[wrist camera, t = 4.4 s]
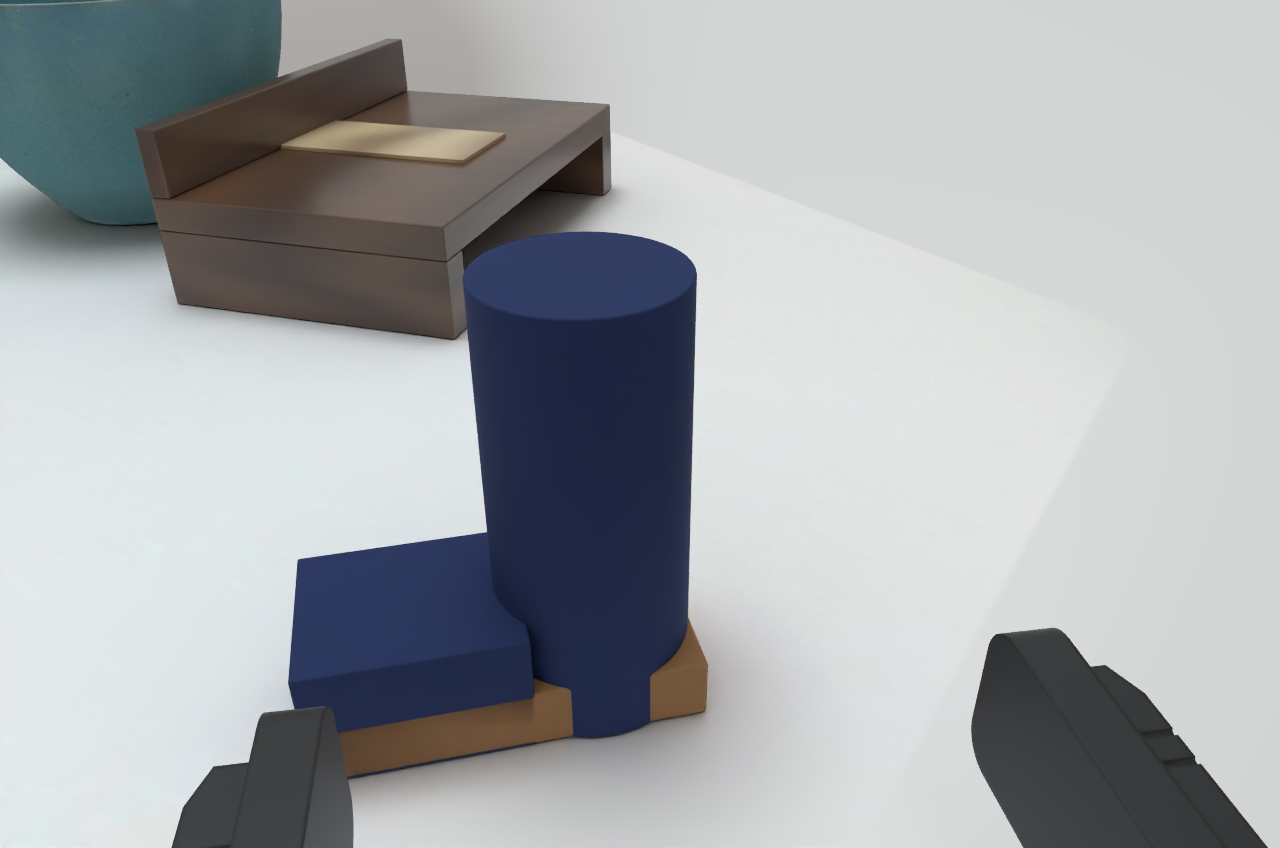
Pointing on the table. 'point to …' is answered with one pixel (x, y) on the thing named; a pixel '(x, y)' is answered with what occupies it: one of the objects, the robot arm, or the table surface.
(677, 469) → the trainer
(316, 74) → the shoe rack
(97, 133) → the teal bowl
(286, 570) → the table surface
